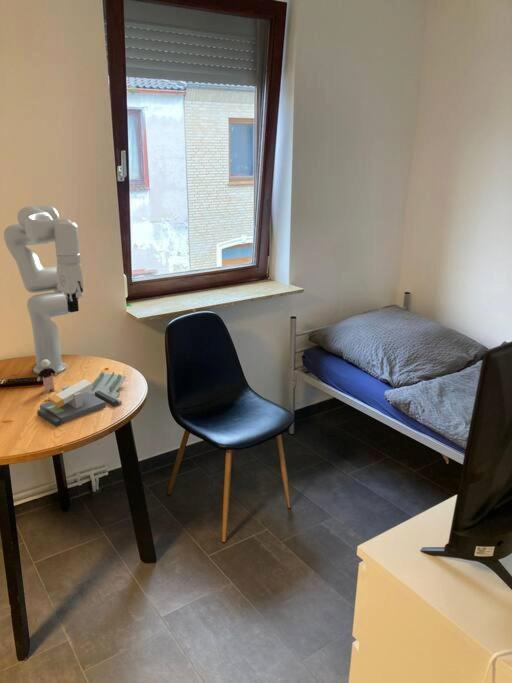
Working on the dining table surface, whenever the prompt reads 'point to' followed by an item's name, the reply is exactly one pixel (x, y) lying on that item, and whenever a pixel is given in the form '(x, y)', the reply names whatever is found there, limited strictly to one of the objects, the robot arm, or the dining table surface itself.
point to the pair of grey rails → (98, 394)
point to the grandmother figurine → (47, 376)
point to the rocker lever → (70, 393)
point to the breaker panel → (75, 406)
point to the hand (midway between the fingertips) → (73, 311)
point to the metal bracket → (107, 384)
